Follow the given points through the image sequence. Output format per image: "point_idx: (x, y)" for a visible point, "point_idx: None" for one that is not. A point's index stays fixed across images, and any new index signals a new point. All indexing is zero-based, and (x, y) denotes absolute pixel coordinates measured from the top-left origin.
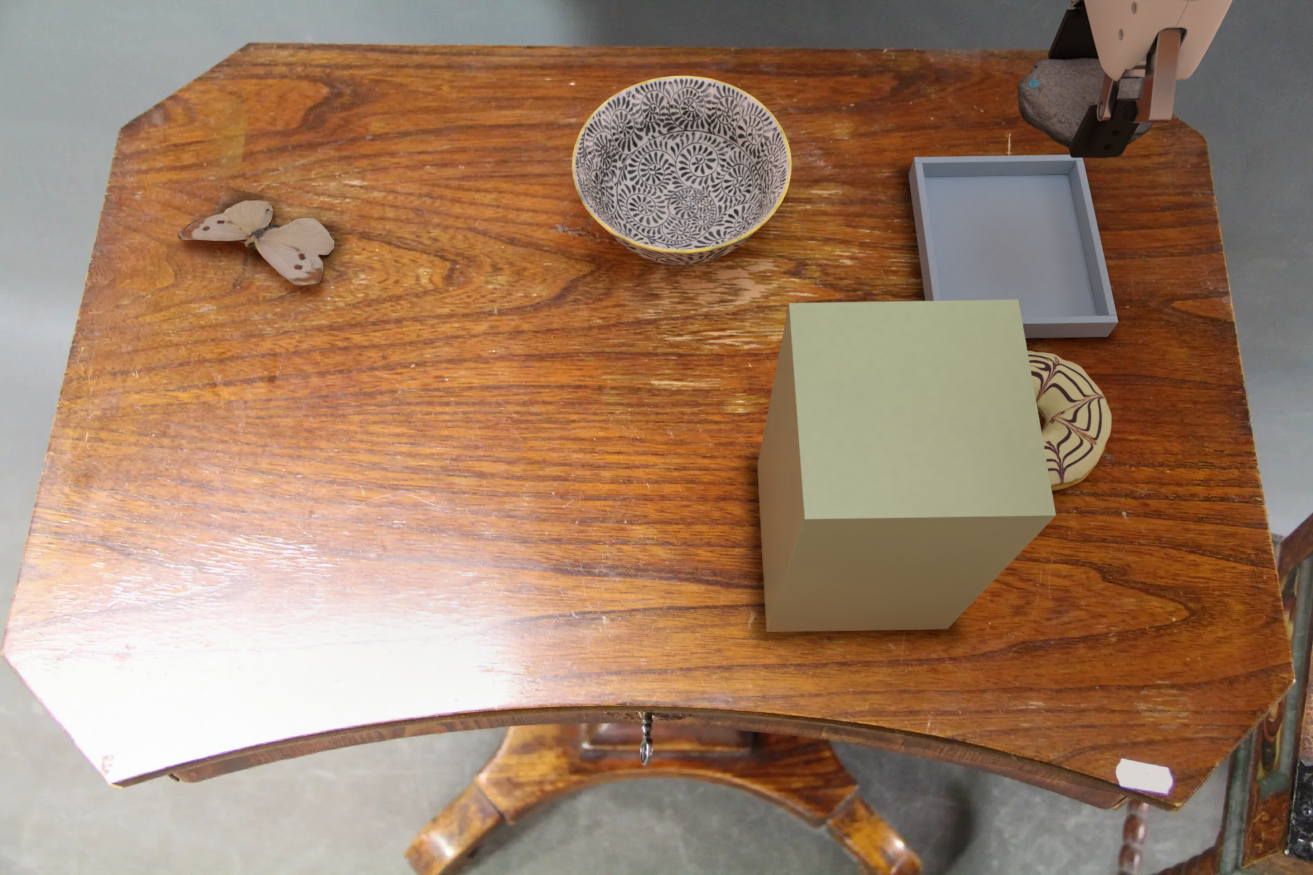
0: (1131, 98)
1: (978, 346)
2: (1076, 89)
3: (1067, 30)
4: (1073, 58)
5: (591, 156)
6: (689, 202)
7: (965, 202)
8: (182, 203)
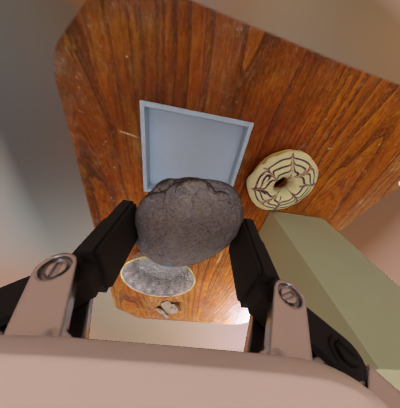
0: (265, 305)
1: (383, 376)
2: (181, 249)
3: (119, 271)
4: (134, 228)
5: (153, 288)
6: None
7: (164, 168)
8: (155, 314)
